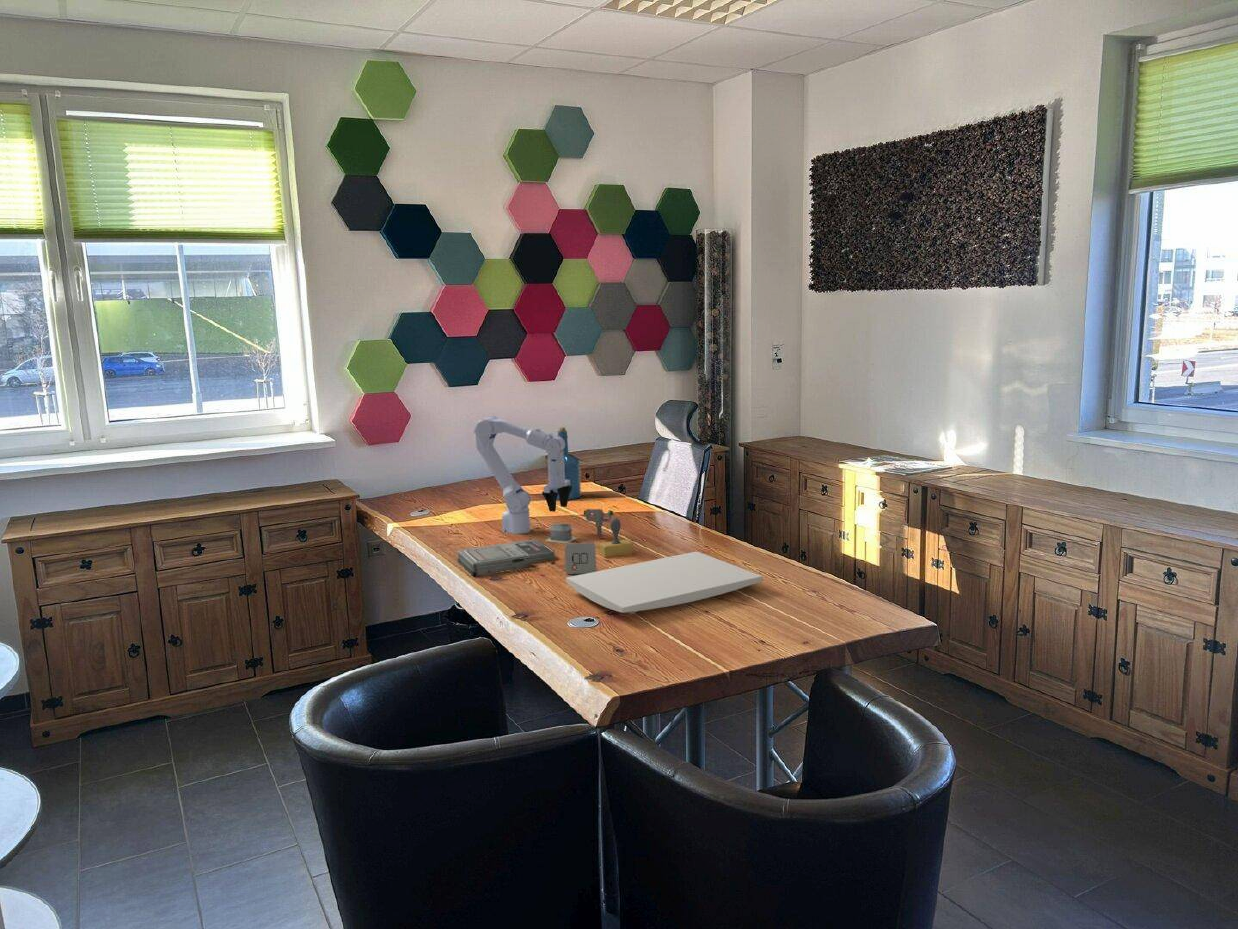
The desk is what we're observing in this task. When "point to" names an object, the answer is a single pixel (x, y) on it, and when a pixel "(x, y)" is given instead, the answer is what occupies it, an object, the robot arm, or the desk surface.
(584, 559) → the electrical switch
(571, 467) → the wine bottle
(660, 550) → the desk surface
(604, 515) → the mechanical component
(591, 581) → the board
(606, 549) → the rubber stamp
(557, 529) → the block
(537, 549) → the hard drive
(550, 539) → the stand
